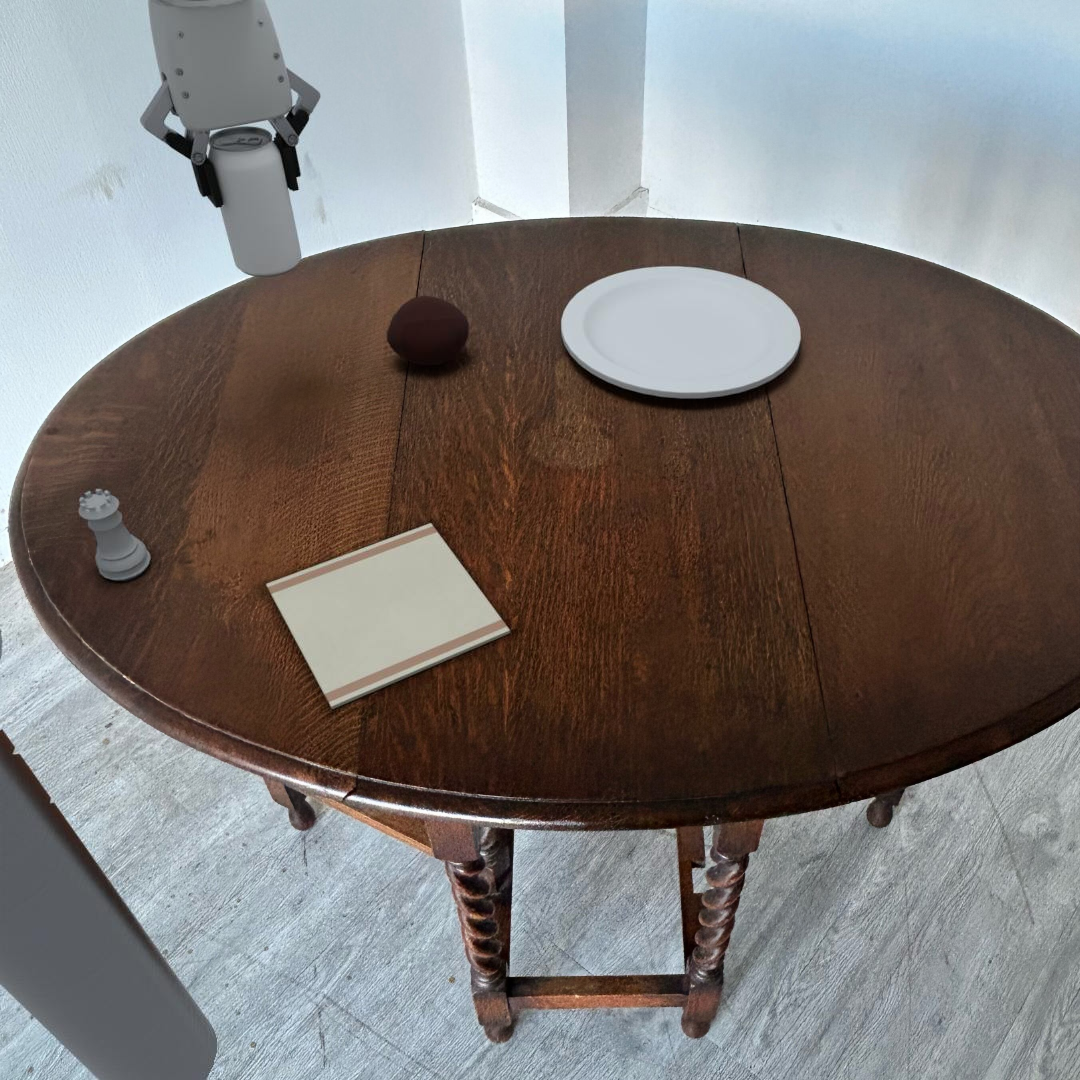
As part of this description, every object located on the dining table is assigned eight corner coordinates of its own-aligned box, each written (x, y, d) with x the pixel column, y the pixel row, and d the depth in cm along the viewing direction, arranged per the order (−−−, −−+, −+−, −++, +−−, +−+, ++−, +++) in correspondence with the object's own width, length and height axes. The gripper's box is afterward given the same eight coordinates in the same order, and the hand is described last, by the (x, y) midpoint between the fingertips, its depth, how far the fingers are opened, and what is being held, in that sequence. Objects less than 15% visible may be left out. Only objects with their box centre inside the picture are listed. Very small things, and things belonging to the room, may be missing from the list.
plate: (767, 278, 128) (769, 261, 126) (826, 403, 109) (829, 385, 107) (551, 288, 125) (551, 270, 124) (573, 417, 106) (573, 399, 104)
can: (242, 247, 100) (211, 124, 91) (307, 247, 100) (282, 124, 92) (229, 279, 95) (195, 151, 87) (297, 278, 96) (269, 152, 87)
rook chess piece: (160, 569, 89) (130, 501, 83) (110, 590, 87) (77, 522, 81) (141, 542, 91) (111, 474, 86) (92, 563, 89) (59, 495, 84)
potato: (477, 374, 112) (472, 312, 106) (395, 385, 110) (384, 323, 104) (466, 337, 117) (460, 276, 111) (387, 347, 115) (377, 286, 110)
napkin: (332, 709, 78) (330, 706, 78) (266, 586, 88) (265, 583, 87) (510, 633, 84) (510, 629, 84) (431, 525, 94) (430, 522, 93)
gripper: (289, -49, 86) (326, 161, 98) (79, -24, 79) (148, 198, 92) (320, -28, 81) (355, 189, 94) (101, 0, 75) (171, 230, 87)
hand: (252, 192), depth 93 cm, fingers closed on can, 6 cm apart
